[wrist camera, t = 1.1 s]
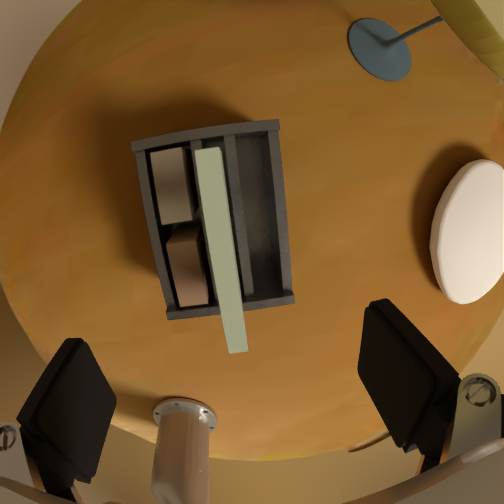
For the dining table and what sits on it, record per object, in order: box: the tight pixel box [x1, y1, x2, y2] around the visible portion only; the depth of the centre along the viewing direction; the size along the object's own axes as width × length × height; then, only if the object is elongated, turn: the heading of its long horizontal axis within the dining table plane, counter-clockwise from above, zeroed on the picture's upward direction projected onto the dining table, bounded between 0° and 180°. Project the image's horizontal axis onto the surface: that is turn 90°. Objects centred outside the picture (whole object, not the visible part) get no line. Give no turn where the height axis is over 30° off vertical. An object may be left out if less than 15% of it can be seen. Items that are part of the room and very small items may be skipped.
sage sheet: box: [195, 147, 248, 354], centre depth 26 cm, size 14×1×18 cm, turn 7°
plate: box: [429, 159, 504, 304], centre depth 38 cm, size 28×6×27 cm
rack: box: [131, 119, 295, 320], centre depth 31 cm, size 19×14×9 cm
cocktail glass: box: [349, 0, 504, 81], centre depth 18 cm, size 18×18×25 cm
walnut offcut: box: [166, 222, 211, 307], centre depth 32 cm, size 7×3×8 cm, turn 7°
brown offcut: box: [150, 147, 199, 225], centre depth 29 cm, size 7×3×8 cm, turn 7°
